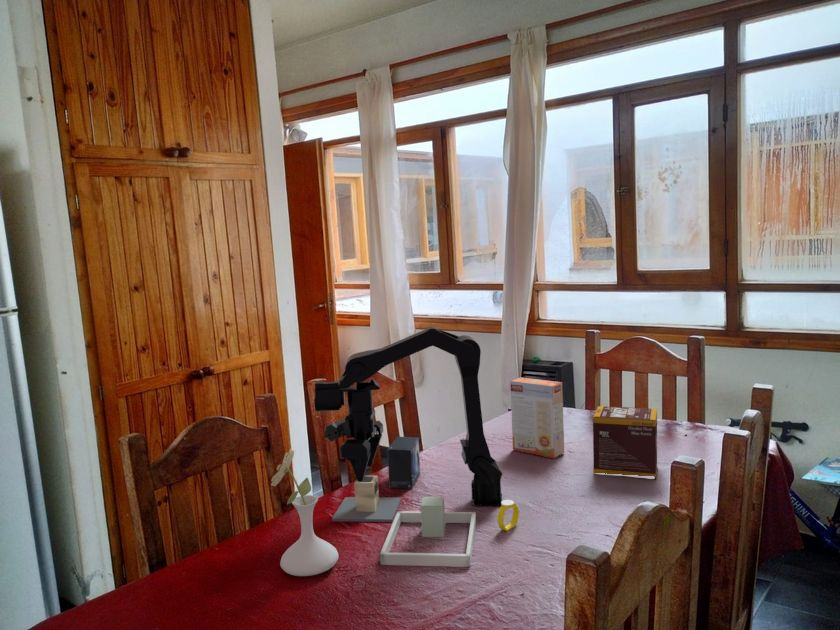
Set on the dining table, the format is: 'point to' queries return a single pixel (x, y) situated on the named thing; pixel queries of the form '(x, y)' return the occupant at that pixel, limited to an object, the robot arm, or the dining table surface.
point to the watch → (505, 505)
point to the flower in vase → (304, 532)
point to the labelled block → (367, 494)
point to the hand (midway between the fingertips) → (364, 473)
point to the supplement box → (625, 441)
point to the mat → (382, 513)
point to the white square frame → (428, 558)
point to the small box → (403, 462)
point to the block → (433, 517)
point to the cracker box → (537, 417)
